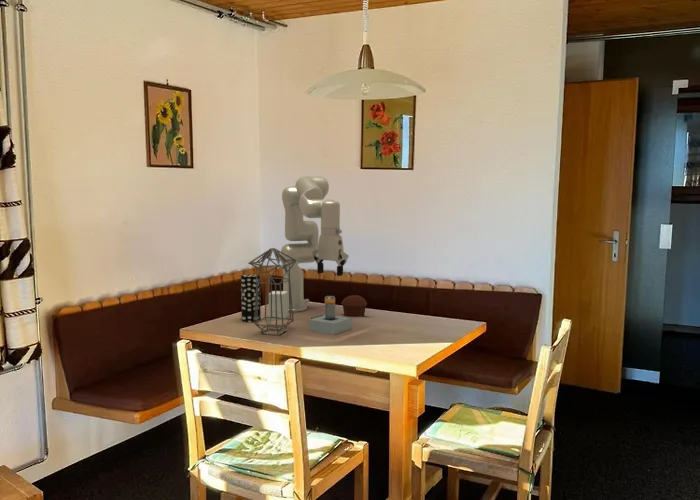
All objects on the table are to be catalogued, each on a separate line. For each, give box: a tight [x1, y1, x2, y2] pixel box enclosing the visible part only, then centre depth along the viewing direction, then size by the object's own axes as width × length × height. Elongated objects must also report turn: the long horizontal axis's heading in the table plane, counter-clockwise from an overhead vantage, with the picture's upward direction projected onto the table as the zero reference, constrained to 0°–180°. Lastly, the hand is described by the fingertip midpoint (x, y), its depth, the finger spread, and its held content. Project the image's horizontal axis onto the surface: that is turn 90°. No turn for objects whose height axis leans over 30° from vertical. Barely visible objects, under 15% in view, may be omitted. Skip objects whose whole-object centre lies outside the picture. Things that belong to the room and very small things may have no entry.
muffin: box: [341, 294, 368, 318], centre depth 292 cm, size 12×11×10 cm
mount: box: [308, 314, 325, 325], centre depth 275 cm, size 10×8×4 cm
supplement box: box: [268, 290, 289, 323], centre depth 286 cm, size 7×7×13 cm
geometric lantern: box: [248, 247, 297, 337], centre depth 261 cm, size 16×16×35 cm
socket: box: [309, 314, 352, 336], centre depth 262 cm, size 12×12×6 cm
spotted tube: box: [240, 273, 262, 323], centre depth 285 cm, size 8×8×20 cm
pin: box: [324, 295, 336, 321], centre depth 262 cm, size 4×4×14 cm
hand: (330, 274), depth 260 cm, fingers open, 9 cm apart
